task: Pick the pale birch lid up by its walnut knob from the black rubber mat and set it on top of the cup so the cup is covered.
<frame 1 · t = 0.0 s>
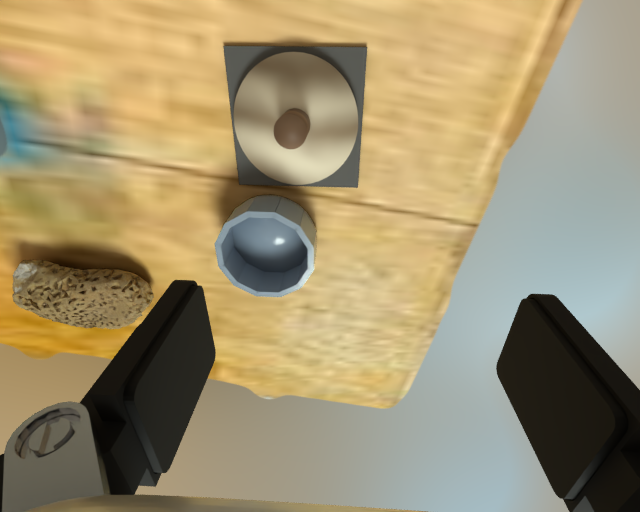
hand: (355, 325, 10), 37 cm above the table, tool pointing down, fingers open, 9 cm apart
mat: (296, 122, 42), on the table
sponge: (98, 282, 57), on the table
lid: (296, 122, 42), resting on mat
cup: (272, 236, 51), on the table
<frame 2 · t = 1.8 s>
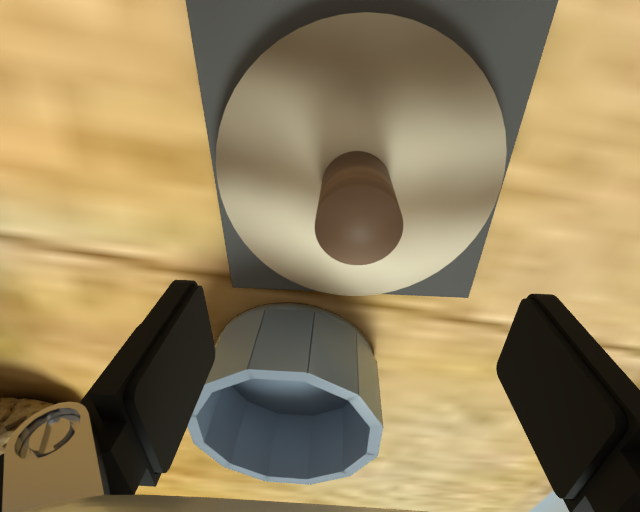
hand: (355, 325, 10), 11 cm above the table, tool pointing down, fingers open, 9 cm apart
mat: (355, 176, 19), on the table
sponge: (5, 405, 35), on the table
lid: (355, 178, 19), resting on mat
cup: (294, 364, 28), on the table
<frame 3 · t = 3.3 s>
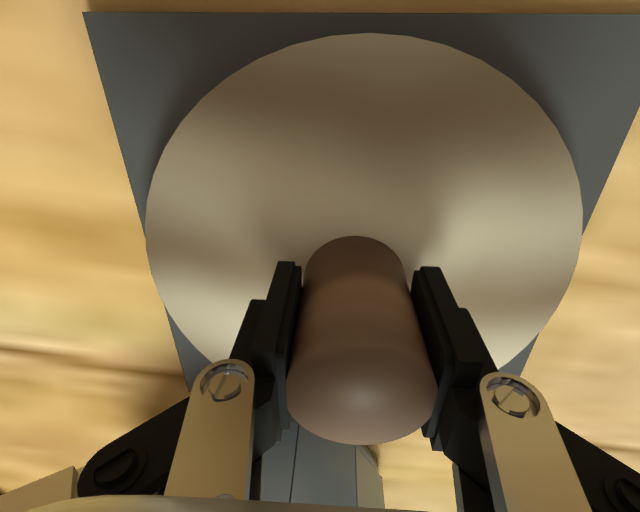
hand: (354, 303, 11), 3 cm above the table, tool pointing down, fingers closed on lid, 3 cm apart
mat: (352, 260, 14), on the table
lid: (352, 265, 13), resting on mat, touching gripper
cup: (275, 472, 22), on the table
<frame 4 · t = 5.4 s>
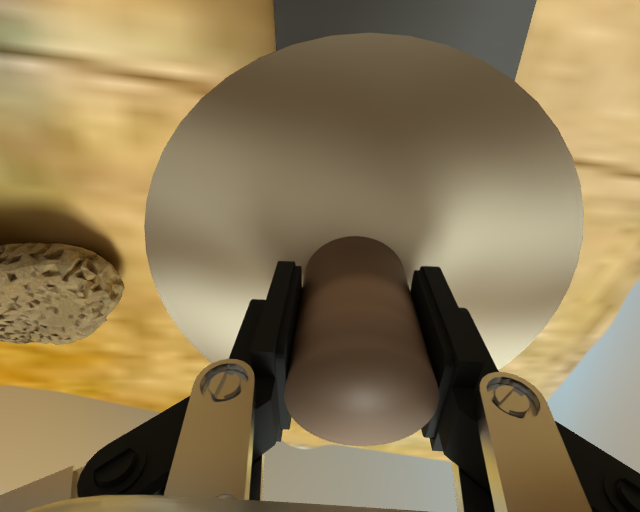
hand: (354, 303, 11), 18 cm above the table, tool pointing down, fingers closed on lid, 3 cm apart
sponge: (38, 268, 35), on the table
lid: (353, 266, 13), point 16 cm above the table, touching gripper
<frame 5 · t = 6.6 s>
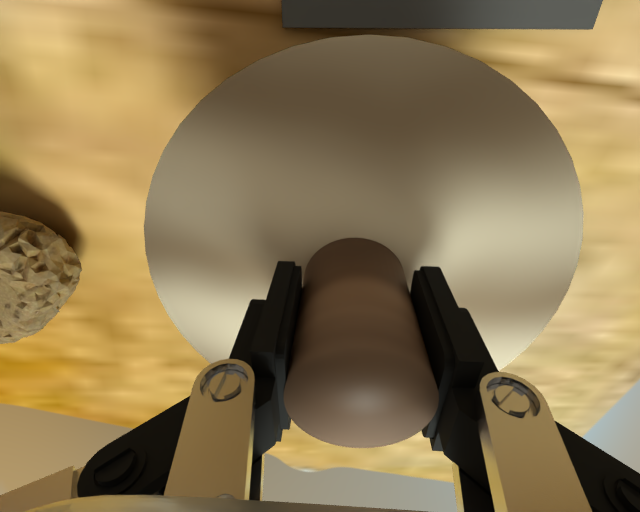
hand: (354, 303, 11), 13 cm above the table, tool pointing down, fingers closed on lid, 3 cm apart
lid: (352, 267, 13), point 11 cm above the table, touching gripper
when the fingers open (10 cm above the table, at t = 7.4 s): lid drops 1 cm, resting on cup.
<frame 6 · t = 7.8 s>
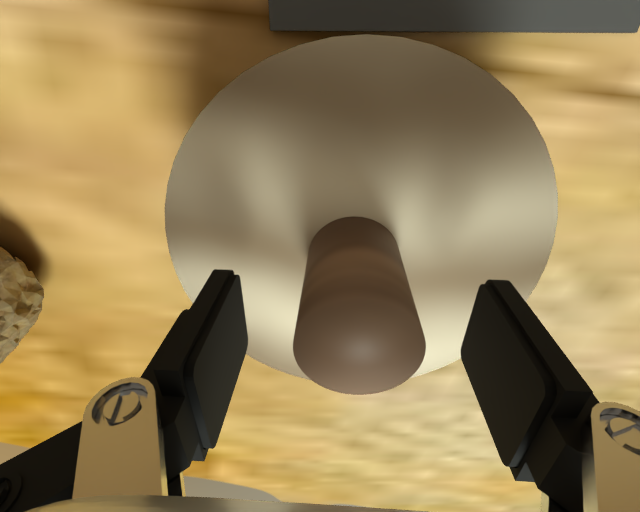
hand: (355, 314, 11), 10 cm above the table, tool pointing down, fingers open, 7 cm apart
lid: (352, 245, 15), point 6 cm above the table, touching cup
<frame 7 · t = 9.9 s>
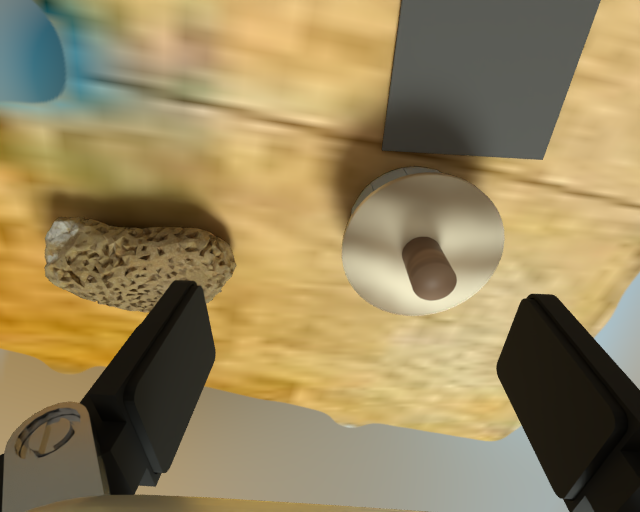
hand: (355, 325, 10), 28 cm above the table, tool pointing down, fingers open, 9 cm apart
mat: (483, 63, 31), on the table
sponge: (157, 250, 42), on the table
lid: (418, 248, 33), point 6 cm above the table, touching cup
cup: (407, 224, 39), on the table
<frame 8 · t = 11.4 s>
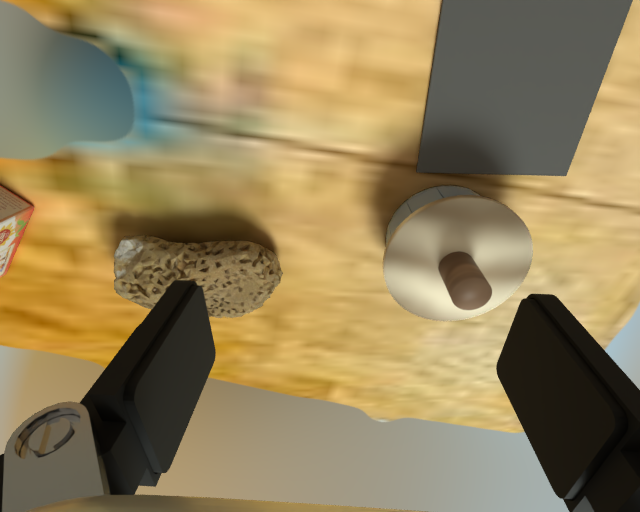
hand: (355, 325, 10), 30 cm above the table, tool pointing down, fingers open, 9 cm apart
mat: (510, 93, 34), on the table
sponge: (208, 261, 46), on the table
lid: (453, 261, 37), point 6 cm above the table, touching cup
cracker box: (0, 228, 45), on the table
cup: (439, 236, 42), on the table
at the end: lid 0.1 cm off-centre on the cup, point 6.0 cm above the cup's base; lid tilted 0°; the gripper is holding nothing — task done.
